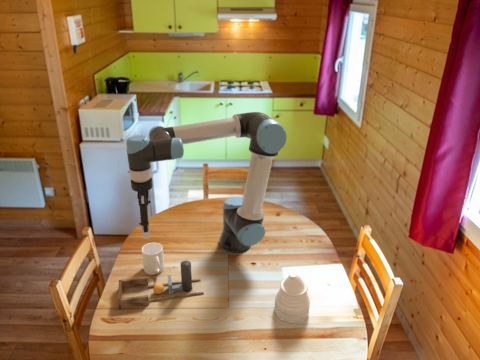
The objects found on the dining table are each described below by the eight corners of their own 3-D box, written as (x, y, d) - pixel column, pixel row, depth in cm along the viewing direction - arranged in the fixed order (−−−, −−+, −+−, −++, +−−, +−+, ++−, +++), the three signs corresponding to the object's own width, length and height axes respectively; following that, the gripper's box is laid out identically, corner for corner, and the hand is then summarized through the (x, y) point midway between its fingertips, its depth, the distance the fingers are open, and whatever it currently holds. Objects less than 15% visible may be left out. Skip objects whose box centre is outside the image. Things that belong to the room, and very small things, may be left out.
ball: (163, 288, 158) (163, 280, 156) (164, 295, 155) (163, 287, 153) (153, 290, 157) (152, 282, 156) (154, 296, 154) (153, 288, 152)
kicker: (191, 282, 161) (189, 258, 156) (192, 292, 156) (191, 267, 151) (168, 285, 159) (166, 261, 154) (169, 295, 154) (167, 271, 149)
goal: (148, 284, 160) (147, 276, 159) (149, 304, 150) (148, 296, 148) (120, 288, 158) (118, 280, 156) (118, 309, 147) (117, 301, 146)
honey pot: (300, 328, 141) (304, 288, 133) (268, 313, 147) (270, 275, 139) (314, 306, 151) (318, 268, 143) (283, 293, 157) (286, 256, 149)
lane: (200, 279, 163) (200, 278, 163) (203, 293, 156) (203, 292, 156) (148, 286, 159) (148, 285, 159) (148, 301, 151) (148, 300, 151)
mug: (150, 282, 161) (148, 261, 157) (140, 266, 170) (138, 246, 166) (170, 275, 165) (168, 254, 161) (160, 260, 174) (158, 240, 170)
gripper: (131, 165, 153) (137, 212, 162) (128, 195, 131) (135, 248, 140) (151, 163, 154) (156, 211, 164) (152, 193, 132) (157, 245, 142)
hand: (146, 228), depth 152 cm, fingers open, 13 cm apart
